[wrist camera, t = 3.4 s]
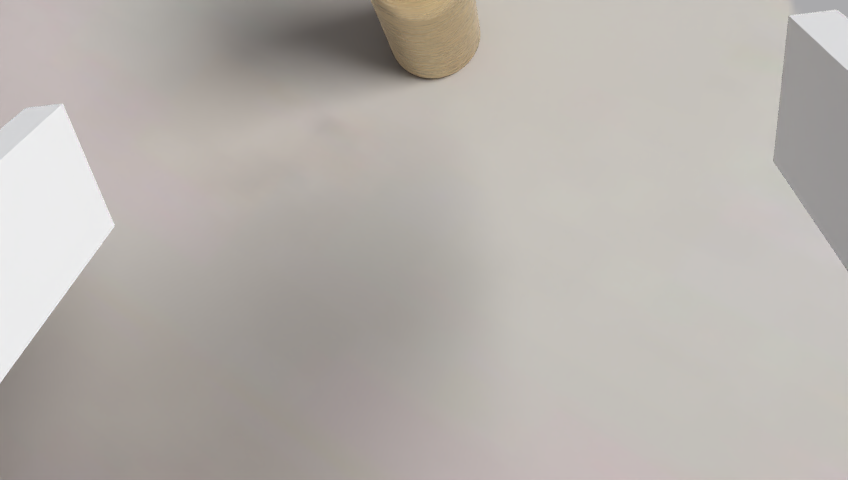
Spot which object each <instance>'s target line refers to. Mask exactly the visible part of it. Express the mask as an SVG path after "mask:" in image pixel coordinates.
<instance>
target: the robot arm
mask: <svg viewBox="0 0 848 480" xmlns="http://www.w3.org/2000/svg"><path fill="white" fill-rule="evenodd" d="M773 161H774V163H775V164H776V166H777V167H778V169H779V170H780V172H781V173H782V175H783V176H784V178H785V179H786V181H787V182H788V184H789V185H790V187H791V188H792V190H793V191H794V192H795V194H796V195H797V197H798V198H799V200H800V201H801V203H802V204H803V206H804V207H805V209H806V210H807V212H808V213H809V215H810V216H811V218H812V219H813V221H814V222H815V224H816V225H817V226H818V228H819V229H820V231H821V232H822V234H823V235H824V237H825V238H826V240H827V241H828V243H829V244H830V246H831V247H832V249H833V250H834V252H835V253H836V255H837V256H838V258H839V259H840V260H841V262H842V263H843V265H844V266H845V268H846V269H847V271H848V18H847V17H845V16H844V15H843V14H842V13H840V12H839V11H838V10H830V11H822V12H814V13H806V14H797V15H789V17H788V27H787V36H786V45H785V55H784V64H783V74H782V83H781V92H780V102H779V111H778V121H777V130H776V139H775V149H774V158H773ZM114 226H115V225H114V223H113V220H112V218H111V216H110V213H109V211H108V209H107V206H106V204H105V202H104V199H103V197H102V195H101V192H100V190H99V188H98V185H97V183H96V181H95V178H94V176H93V174H92V171H91V169H90V166H89V164H88V162H87V159H86V157H85V155H84V152H83V150H82V148H81V145H80V143H79V141H78V138H77V136H76V134H75V131H74V129H73V127H72V124H71V122H70V119H69V117H68V115H67V112H66V110H65V108H64V105H63V104H54V105H46V106H38V107H30V108H25V109H24V110H22V111H21V112H20V113H19V114H18V115H17V116H15V117H14V118H13V119H12V120H11V121H9V122H8V123H7V124H6V125H5V126H3V127H2V128H1V129H0V383H1V381H2V380H3V379H4V377H5V376H6V374H7V373H8V372H9V370H10V369H11V368H12V366H13V365H14V363H15V362H16V361H17V359H18V358H19V357H20V355H21V354H22V352H23V351H24V350H25V348H26V347H27V346H28V344H29V343H30V342H31V340H32V339H33V337H34V336H35V335H36V333H37V332H38V331H39V329H40V328H41V326H42V325H43V324H44V322H45V321H46V320H47V318H48V317H49V315H50V314H51V313H52V311H53V310H54V309H55V307H56V306H57V304H58V303H59V302H60V300H61V299H62V298H63V296H64V295H65V294H66V292H67V291H68V289H69V288H70V287H71V285H72V284H73V283H74V281H75V280H76V278H77V277H78V276H79V274H80V273H81V272H82V270H83V269H84V267H85V266H86V265H87V263H88V262H89V261H90V259H91V258H92V256H93V255H94V254H95V252H96V251H97V250H98V248H99V247H100V246H101V244H102V243H103V241H104V240H105V239H106V237H107V236H108V235H109V233H110V232H111V230H112V229H113V228H114Z"/></svg>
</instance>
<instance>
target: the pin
mask: <svg viewBox="0 0 848 480" xmlns="http://www.w3.org/2000/svg"><path fill="white" fill-rule="evenodd" d="M371 2H372V4H373V7H374V9H375V12H376V14H377V16H378V19H379V21H380V23H381V26H382V28H383V31H384V33H385V35H386V38H387V40H388V43H389V45H390V47H391V50H392V52H393V54H394V57H395V58H396V60H397V62H398V63H399V64H400V65H401V66H402V67H403V68H404V69H405V70H407V71H408V72H410V73H412V74H414V75H416V76H419V77H424V78H441V77H445V76H448V75H451V74H453V73H455V72H457V71H459V70H460V69H462V68H463V67H464V66H465V65H466V64H467V63H468V62H469V61H470V60H471V59H472V57H473V56H474V54H475V52H476V50H477V48H478V44H479V40H480V27H479V20H478V14H477V7H476V1H475V0H371Z"/></svg>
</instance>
